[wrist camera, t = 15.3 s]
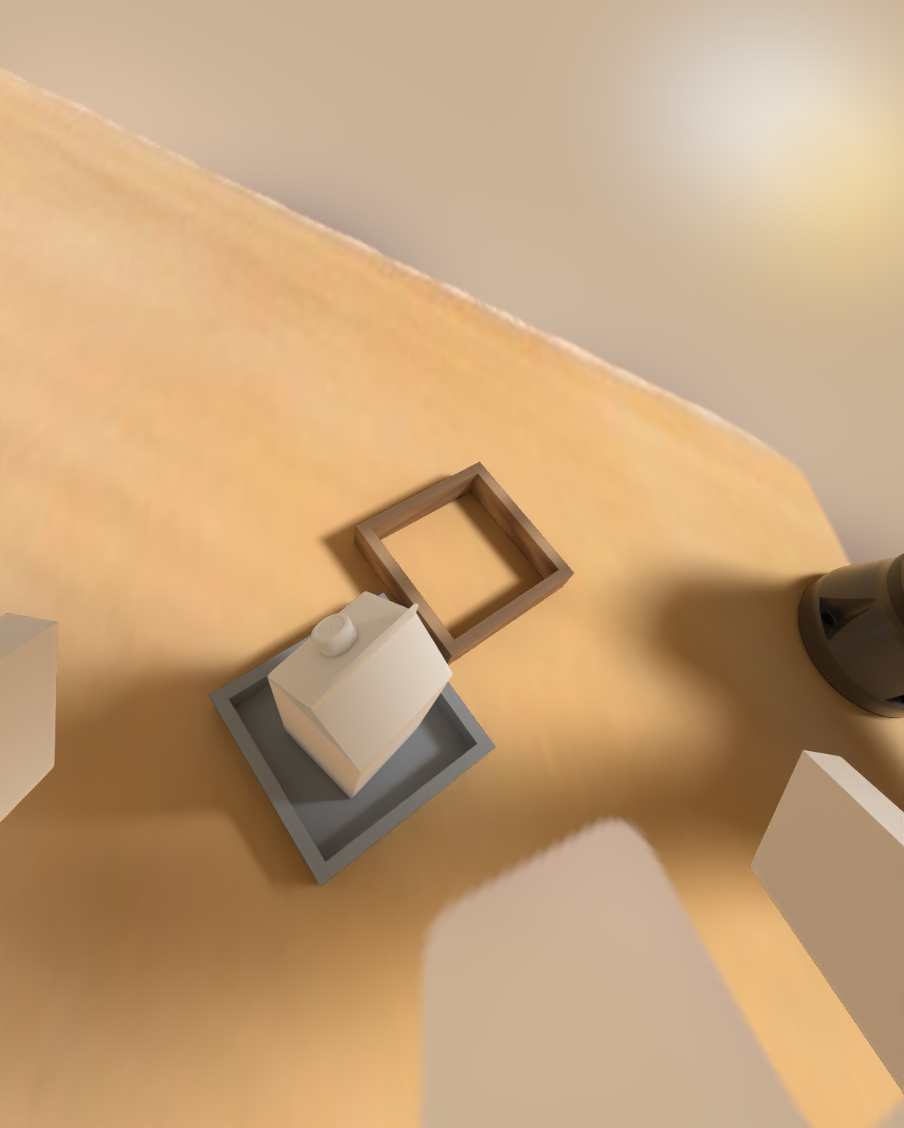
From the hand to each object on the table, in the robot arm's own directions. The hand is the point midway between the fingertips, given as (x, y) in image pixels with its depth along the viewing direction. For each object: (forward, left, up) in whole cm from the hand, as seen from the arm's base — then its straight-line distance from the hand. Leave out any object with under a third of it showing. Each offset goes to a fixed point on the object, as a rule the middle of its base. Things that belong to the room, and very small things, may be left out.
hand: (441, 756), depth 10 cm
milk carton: (+6, -4, -35) cm, 36 cm away
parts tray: (+6, -4, -36) cm, 36 cm away
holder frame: (+13, -20, -36) cm, 43 cm away
